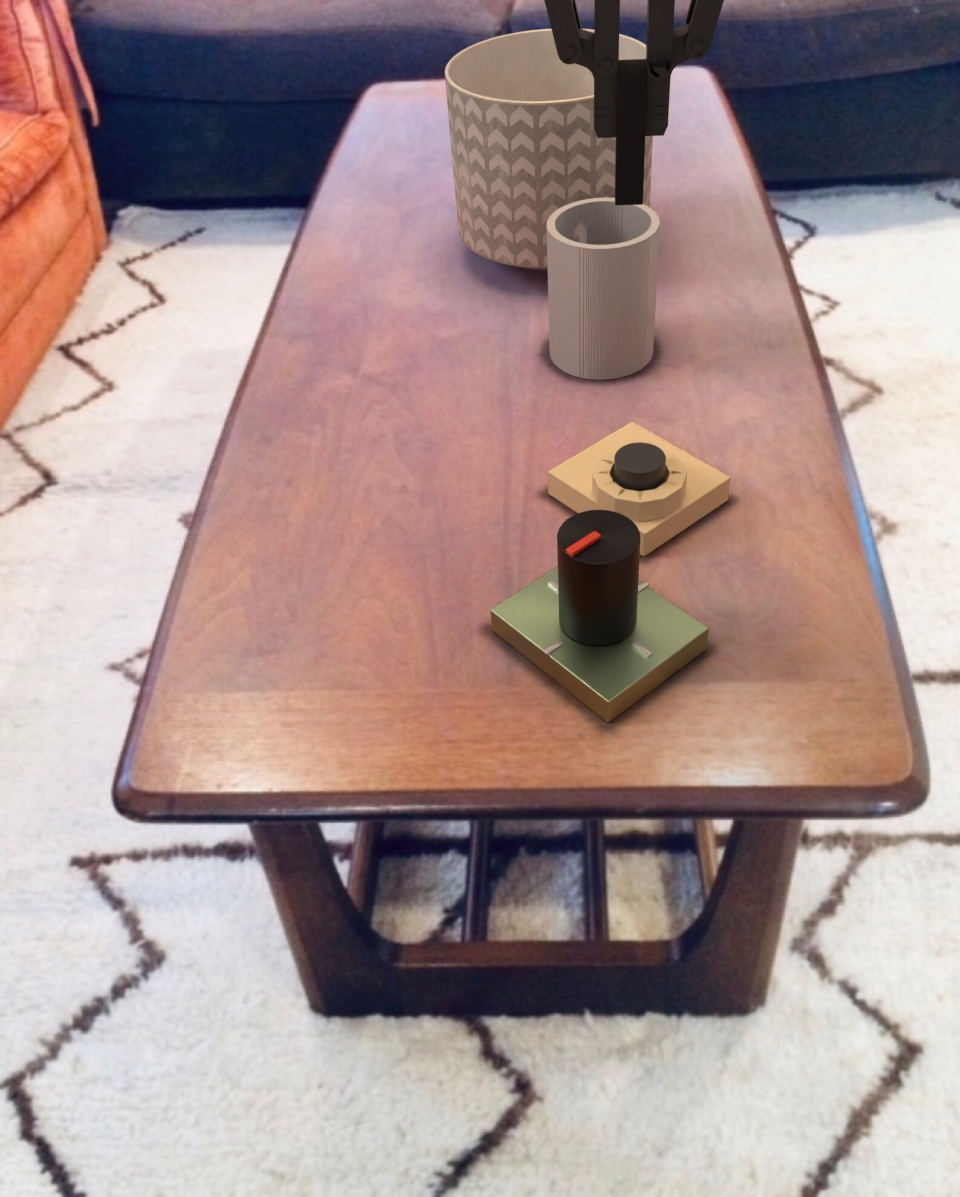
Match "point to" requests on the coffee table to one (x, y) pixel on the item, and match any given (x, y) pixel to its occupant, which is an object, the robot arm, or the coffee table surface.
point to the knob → (598, 576)
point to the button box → (653, 511)
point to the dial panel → (607, 670)
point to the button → (639, 466)
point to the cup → (602, 287)
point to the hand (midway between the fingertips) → (628, 193)
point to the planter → (526, 143)
